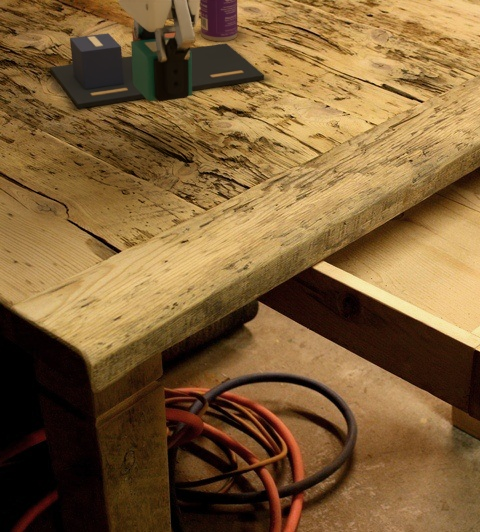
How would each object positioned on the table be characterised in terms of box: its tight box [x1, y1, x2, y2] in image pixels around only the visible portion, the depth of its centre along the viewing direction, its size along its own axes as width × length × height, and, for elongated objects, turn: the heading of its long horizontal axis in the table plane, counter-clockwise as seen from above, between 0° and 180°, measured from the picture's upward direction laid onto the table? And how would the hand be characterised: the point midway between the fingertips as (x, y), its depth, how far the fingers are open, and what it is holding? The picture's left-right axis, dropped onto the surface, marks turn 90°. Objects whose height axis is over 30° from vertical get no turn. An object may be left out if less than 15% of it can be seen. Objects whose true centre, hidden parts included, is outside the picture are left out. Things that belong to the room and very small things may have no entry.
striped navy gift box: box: [69, 32, 124, 89], centre depth 103 cm, size 4×4×4 cm
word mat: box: [49, 43, 265, 109], centre depth 108 cm, size 22×11×1 cm, turn 120°
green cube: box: [130, 37, 193, 102], centre depth 89 cm, size 4×4×4 cm
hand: (162, 86), depth 90 cm, fingers closed on green cube, 4 cm apart
